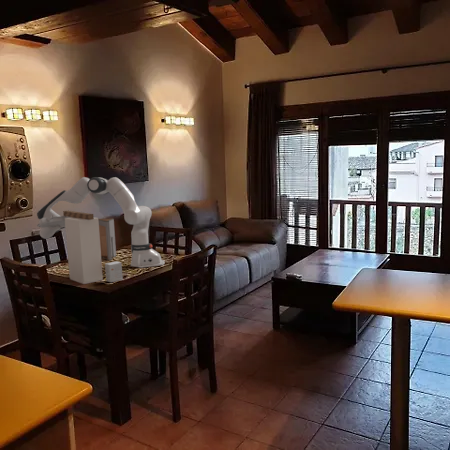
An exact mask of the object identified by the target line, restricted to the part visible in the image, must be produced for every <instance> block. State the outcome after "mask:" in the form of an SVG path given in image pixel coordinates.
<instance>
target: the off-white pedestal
mask: <svg viewBox="0 0 450 450" xmlns="http://www.w3.org/2000/svg"><path fill="white" fill-rule="evenodd" d="M98 219H99V217H94V219H92V220H86V219H80V218H73V217H70V218H65V228H64V229H65V238H66V252H67V262H68V274H69V280H71V281H74V282H77V283H79V284H82V285H86V284H91V283H95V282H99V281H103V279H104V276H103V265H102V257H101V248H100V235H99V222H98Z"/></svg>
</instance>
